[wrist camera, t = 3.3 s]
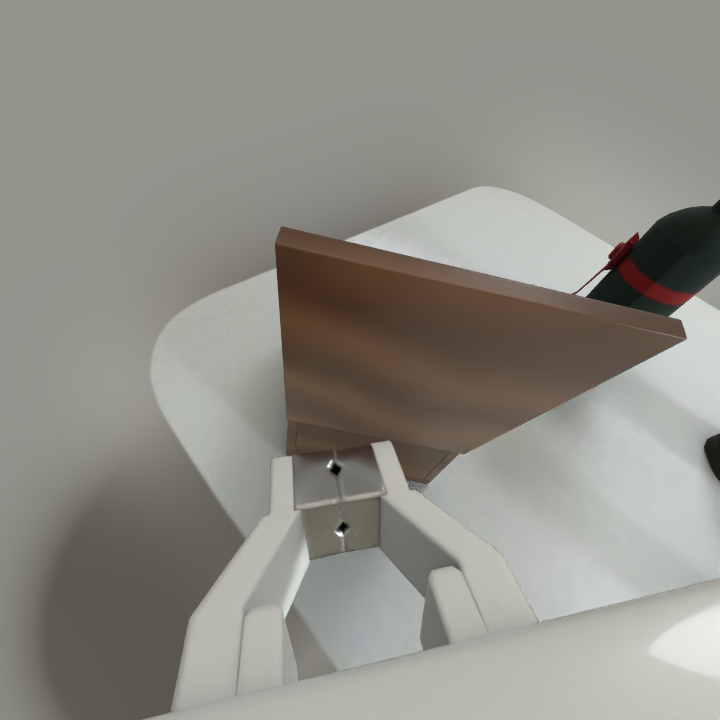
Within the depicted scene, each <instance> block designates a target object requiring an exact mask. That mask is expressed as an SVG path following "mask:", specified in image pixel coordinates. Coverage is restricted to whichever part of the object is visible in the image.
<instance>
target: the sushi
mask: <svg viewBox="0 0 720 720" xmlns="http://www.w3.org/2000/svg"><path fill="white" fill-rule="evenodd" d="M705 449H706V452H707V455H708V458H709V461H710V464H711V467H712V469H713V471H714V473H715V475H716V476H717V477H718V479H719V480H720V434H717V435H715V436H713V437H711V438H709V439H707V442H706V445H705Z"/></svg>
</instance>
